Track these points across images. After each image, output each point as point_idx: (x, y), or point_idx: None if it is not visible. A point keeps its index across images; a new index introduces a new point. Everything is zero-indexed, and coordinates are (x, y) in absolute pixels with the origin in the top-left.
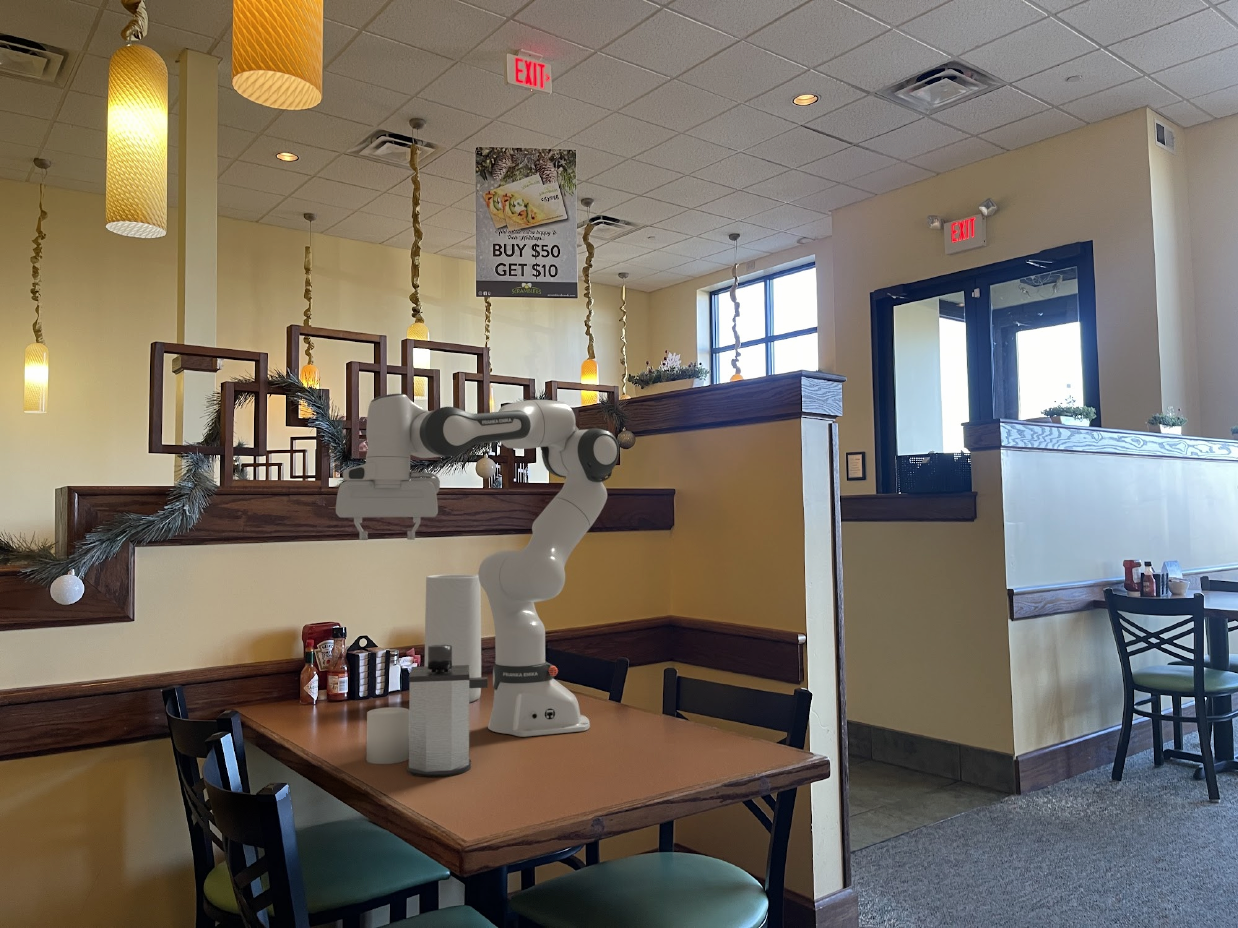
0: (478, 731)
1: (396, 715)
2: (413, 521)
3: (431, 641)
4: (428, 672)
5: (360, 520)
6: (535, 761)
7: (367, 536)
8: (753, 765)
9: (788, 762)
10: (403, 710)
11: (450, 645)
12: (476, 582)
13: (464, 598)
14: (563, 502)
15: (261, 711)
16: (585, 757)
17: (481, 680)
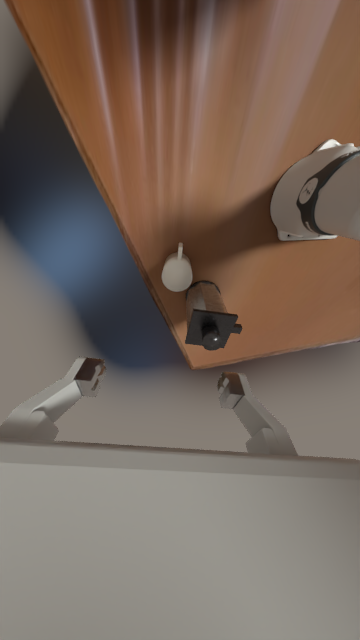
0: (261, 200)
1: (181, 290)
2: (247, 445)
3: None
4: (200, 335)
5: (52, 439)
6: (254, 300)
7: (98, 365)
8: (335, 336)
9: (352, 337)
10: (188, 277)
11: (221, 342)
12: None
13: None
14: None
15: None
16: (281, 301)
17: (235, 332)
